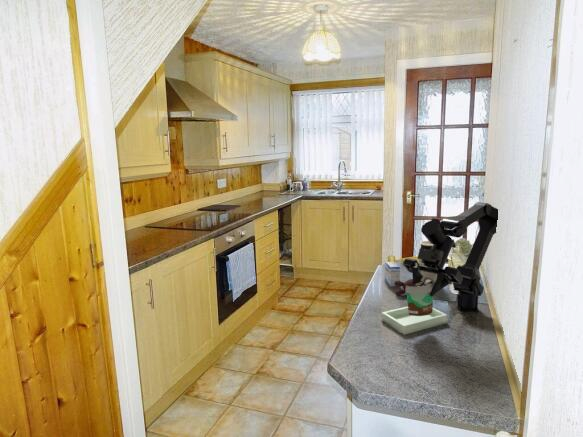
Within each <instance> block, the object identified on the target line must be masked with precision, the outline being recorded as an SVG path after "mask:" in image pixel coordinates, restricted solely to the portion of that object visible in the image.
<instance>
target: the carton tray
mask: <svg viewBox="0 0 583 437" xmlns="http://www.w3.org/2000/svg"><path fill="white" fill-rule="evenodd" d="M381 322H383V323H384V324H387V325H388V326H389V327H391V328H393V329H394V330H395V331H397V332H398V333H400V334H401V335H408V334H409V335H410V334H412V333H415V332H419V331H422V330H427V329H429V328H430V329H431V328H434V327H437V326H441V325H444V324H445V325H446V324H447V323H448V314H447V313H444V312H443V311H441V310H438V309H437V308H435V307H433V310H432V313H431V314H429V315H425V316H412V315H409V311H408V305H407V306H403V307H400V308H395V309H391V310H386V311H383V312H381Z"/></svg>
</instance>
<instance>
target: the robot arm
mask: <svg viewBox="0 0 583 437" xmlns="http://www.w3.org/2000/svg"><path fill="white" fill-rule="evenodd" d="M497 220H498V208H497V207H494V206H492V205H491V204H490V203H487V202H479V201H477V202H475V203H474V204H473V205H472V206H470V207H469V208H467V209H466V210H464V211H463V212H461V213H459V214H457V215H454V216H449V217H444V218H443V219H441V220H440V219H439V218H435V217H433V218H432V219H431V220H429V221H427V222H425V223H424V224H422V226H421V228H420V231H421V233H422V235H423V236H424V237H425V238H426V240H427V241H429V242H430V243H431V244H433V246H432V248H431V249H429V250H423V249H420V248H419V249H420V250H419V249H418V253H417V254H418V255H417V258H416V259H413V258H410V257H406V258H405V259H404V260H403V262H402V266H403V267H404V268H405V269H406V271H407V272H408V273H411V274H412V279H413V282H412V285H414V284H415V283H416V282H420V281H421V280H422V278H423V276H422V274H421V272H422V271H425V272H429V273H434V274H437V279H436V282H435V284H434V286H433V288H432V290H431V293H430V296H431V297H432V296H433V297H434V296H435V295H437V293H438V292H440V291H441V290H443V289H444V288H445V287H447V286H449V285H453V286H452V287H453V290H454V291H456V292H457V294H456V298H455V299H456V300H455V304H456V307H457V308H458V310H459V311H461V312H479V310H480V309H479V308H478V306H479V305H478V304H479V297H481V296H482V295H483V293H484V286H483V285H482V284H481V282H480V281H481V274H480V268H481V265H482V263H483V261H484V258H485V256H486V254H487V252H488V248H489V246H490V243H491V241H492V238H493V236H494V235H495V234H496V233H497V232H496V227H497ZM475 222H478V226H479V230H478V233H477V235H476V237H475V240H474V242H473V244H472V247H471V249H470V251H469V254H468V256H467V259H466V260H465V263H464V264H463V265H458V266H456V267H453V266H445V265H446V264H448V262H449V259H448V258H449V256H450V252H451V250H452V248H453V249H454V248H456V247H457V244H456V243H455V239H453V238H457V239H458V238H461V237H463V235H464V234H465V233H466V232H467V228H468V227H469V226H471V225H472V224H474V223H475ZM417 259H418V260H419V259H422V263H424V265H420V264H419V261H418V260H417Z"/></svg>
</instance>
